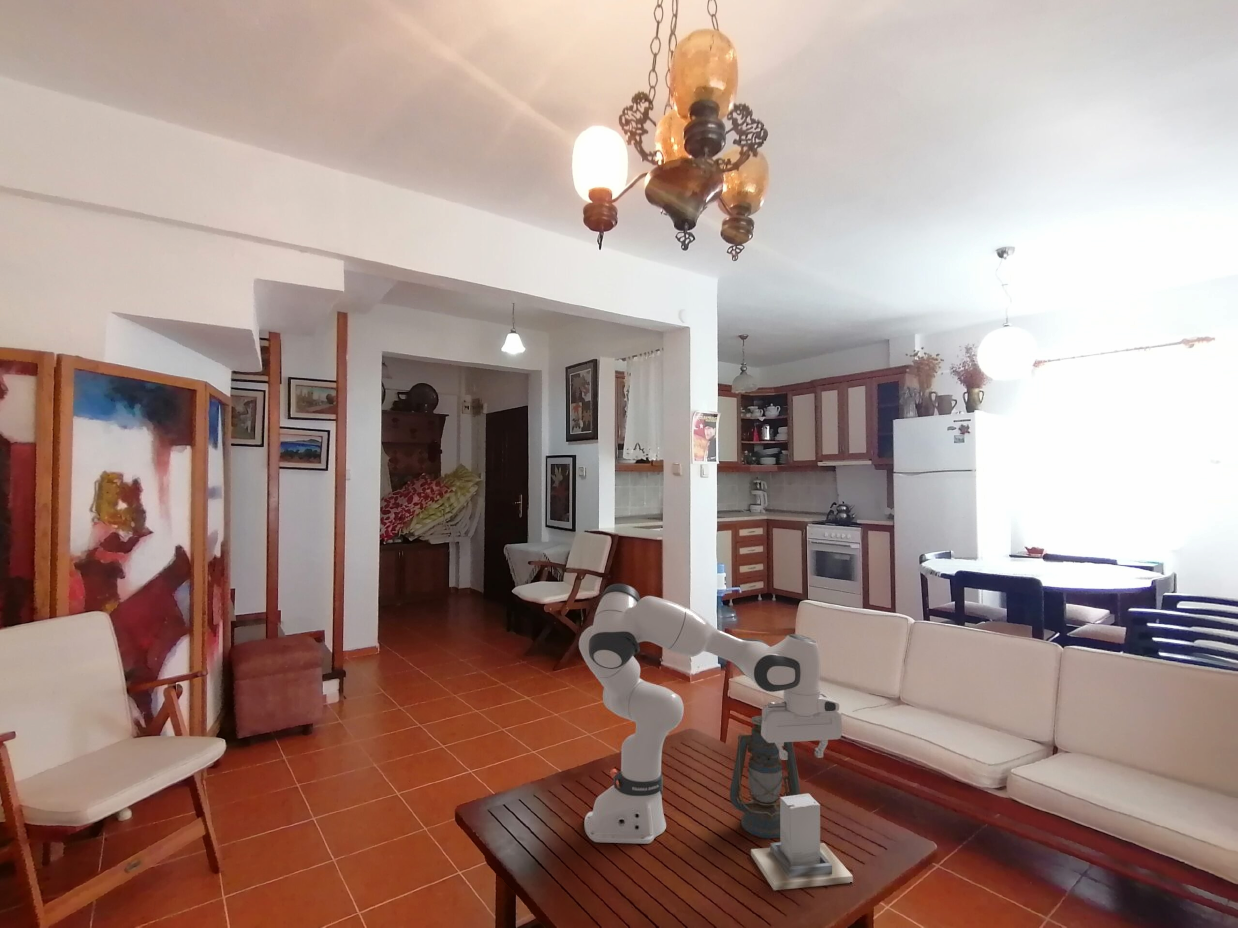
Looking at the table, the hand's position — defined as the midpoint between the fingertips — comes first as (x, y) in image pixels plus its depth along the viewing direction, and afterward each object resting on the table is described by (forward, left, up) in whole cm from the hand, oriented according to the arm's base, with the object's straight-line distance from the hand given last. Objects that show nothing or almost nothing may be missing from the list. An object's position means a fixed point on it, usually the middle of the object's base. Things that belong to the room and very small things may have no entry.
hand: (801, 757), depth 156 cm
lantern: (-1, +19, -27) cm, 33 cm away
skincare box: (0, +1, -26) cm, 26 cm away
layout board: (0, 0, -27) cm, 27 cm away
